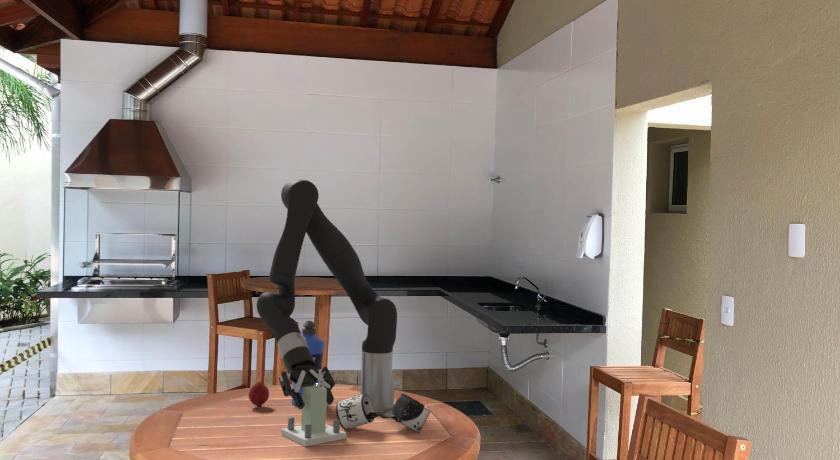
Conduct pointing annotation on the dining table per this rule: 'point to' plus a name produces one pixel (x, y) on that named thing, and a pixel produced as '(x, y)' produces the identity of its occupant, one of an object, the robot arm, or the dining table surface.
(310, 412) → the block
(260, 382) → the onion
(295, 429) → the peg stand
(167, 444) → the dining table surface
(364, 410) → the lettered night shade jar
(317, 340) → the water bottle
